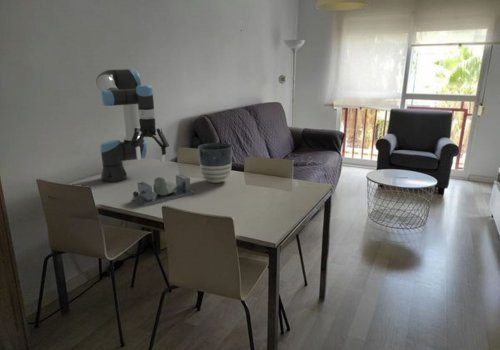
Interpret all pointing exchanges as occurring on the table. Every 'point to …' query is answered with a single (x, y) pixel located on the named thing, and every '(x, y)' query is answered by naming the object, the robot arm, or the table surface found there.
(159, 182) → the decorative stone
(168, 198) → the vise base
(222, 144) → the planter
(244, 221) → the table surface
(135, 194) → the jaw
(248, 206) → the table surface
